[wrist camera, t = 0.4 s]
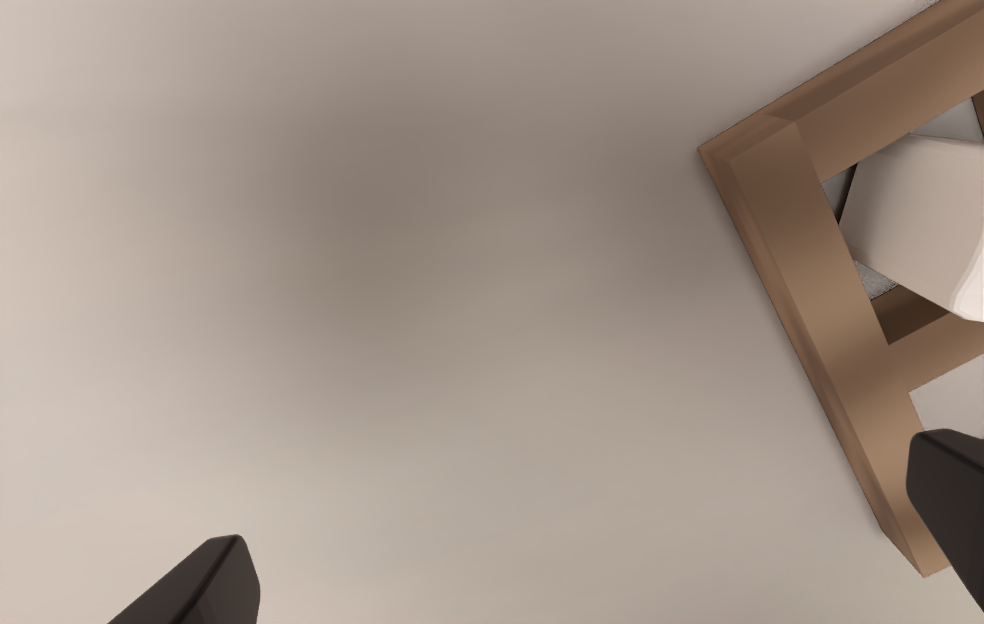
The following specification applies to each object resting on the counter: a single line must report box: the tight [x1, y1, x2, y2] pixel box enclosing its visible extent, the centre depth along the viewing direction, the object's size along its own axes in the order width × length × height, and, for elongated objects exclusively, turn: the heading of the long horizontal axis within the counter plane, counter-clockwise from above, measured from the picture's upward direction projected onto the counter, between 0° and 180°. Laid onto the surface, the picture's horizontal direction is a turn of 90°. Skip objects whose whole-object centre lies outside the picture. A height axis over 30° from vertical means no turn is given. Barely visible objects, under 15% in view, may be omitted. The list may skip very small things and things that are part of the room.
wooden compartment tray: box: [698, 0, 984, 578], centre depth 22 cm, size 18×10×2 cm, turn 32°
